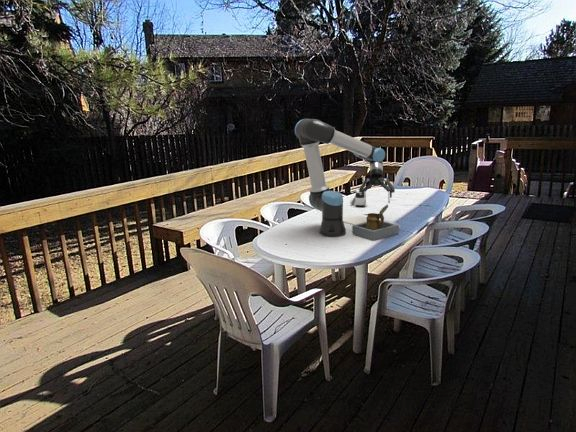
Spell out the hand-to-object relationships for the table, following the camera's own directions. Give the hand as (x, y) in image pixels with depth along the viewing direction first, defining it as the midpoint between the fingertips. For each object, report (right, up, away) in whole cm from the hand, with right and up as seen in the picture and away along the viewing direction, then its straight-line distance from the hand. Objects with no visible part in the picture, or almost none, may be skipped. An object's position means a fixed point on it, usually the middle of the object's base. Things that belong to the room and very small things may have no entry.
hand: (377, 202), depth 245 cm
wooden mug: (-2, -18, -4) cm, 19 cm away
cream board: (-8, -11, +26) cm, 29 cm away
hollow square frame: (-2, -18, -4) cm, 19 cm away
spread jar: (0, -1, +65) cm, 65 cm away
